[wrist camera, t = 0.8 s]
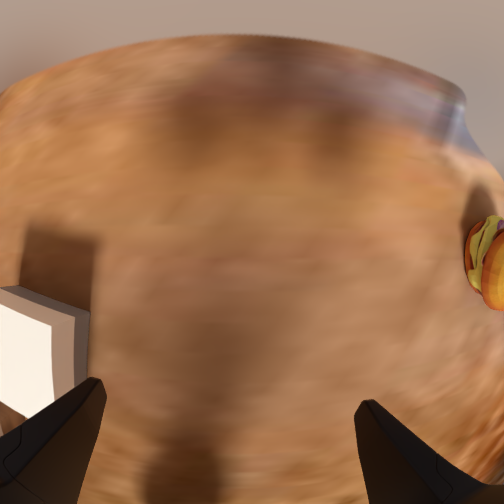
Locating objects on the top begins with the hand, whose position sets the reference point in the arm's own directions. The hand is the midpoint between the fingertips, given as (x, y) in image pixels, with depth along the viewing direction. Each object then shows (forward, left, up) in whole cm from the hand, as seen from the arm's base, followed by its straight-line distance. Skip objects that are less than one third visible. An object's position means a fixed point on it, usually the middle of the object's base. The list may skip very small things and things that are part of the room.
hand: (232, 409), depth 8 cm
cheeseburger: (+11, -29, -14) cm, 34 cm away
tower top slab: (-6, +16, -11) cm, 20 cm away
